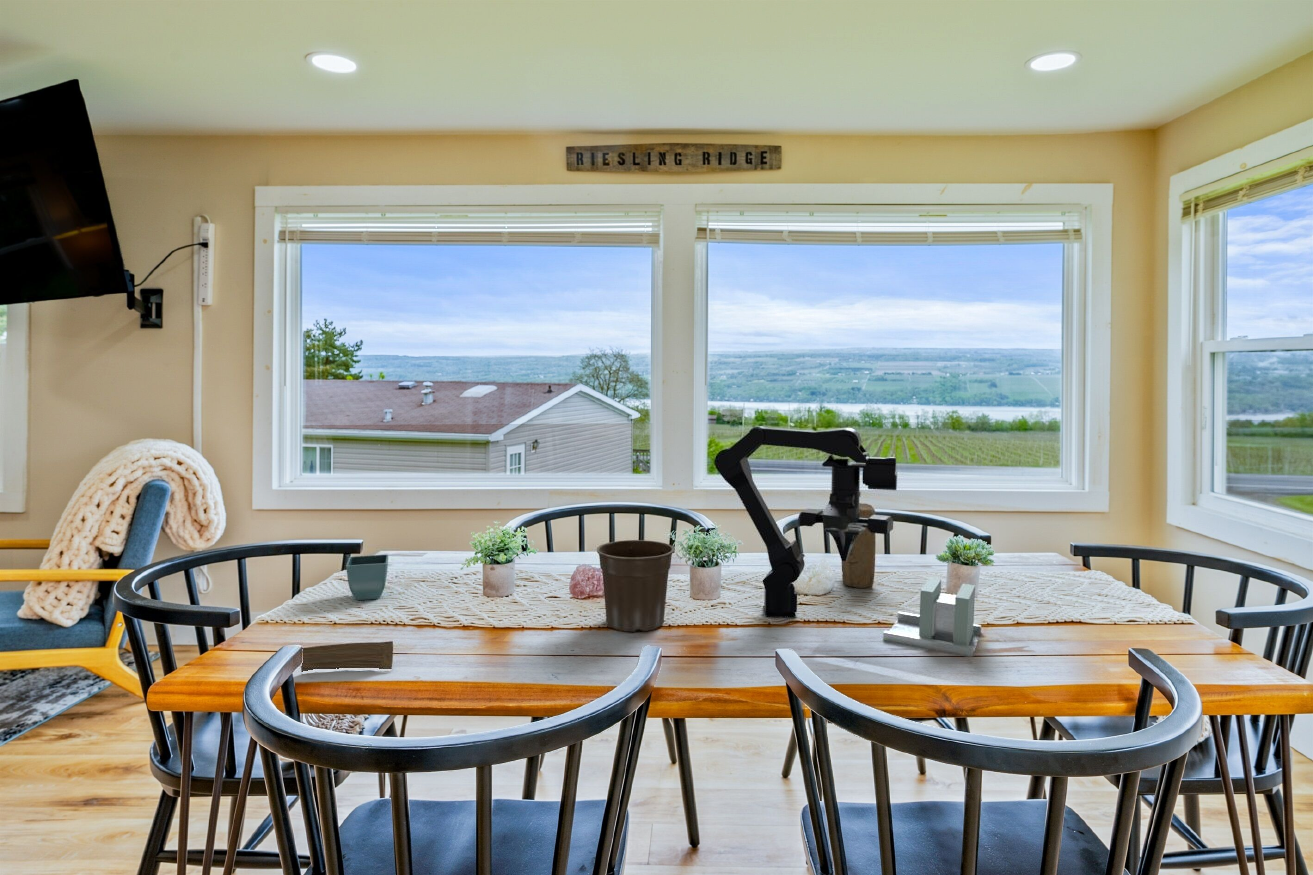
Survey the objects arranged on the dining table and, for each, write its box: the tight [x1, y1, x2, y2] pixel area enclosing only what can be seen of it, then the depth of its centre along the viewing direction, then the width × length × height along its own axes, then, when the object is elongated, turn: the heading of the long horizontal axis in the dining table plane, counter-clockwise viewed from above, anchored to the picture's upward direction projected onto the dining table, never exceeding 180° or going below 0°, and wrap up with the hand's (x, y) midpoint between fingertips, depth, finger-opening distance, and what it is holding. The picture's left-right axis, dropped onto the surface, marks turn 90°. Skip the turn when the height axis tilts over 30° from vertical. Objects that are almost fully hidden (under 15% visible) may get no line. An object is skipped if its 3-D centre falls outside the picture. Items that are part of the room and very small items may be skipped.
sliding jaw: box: [919, 577, 942, 639], centre depth 141 cm, size 2×10×10 cm, turn 150°
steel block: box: [934, 592, 957, 643], centre depth 139 cm, size 4×6×8 cm, turn 150°
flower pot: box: [345, 554, 389, 601], centre depth 167 cm, size 9×9×9 cm
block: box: [841, 502, 877, 589], centre depth 179 cm, size 11×8×20 cm
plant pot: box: [596, 539, 675, 633], centre depth 150 cm, size 16×16×16 cm
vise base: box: [882, 611, 982, 658], centre depth 141 cm, size 16×15×2 cm
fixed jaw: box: [953, 583, 976, 646], centre depth 138 cm, size 2×10×10 cm, turn 150°
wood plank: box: [300, 640, 394, 672], centre depth 125 cm, size 15×2×5 cm, turn 100°
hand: (844, 560), depth 151 cm, fingers closed
